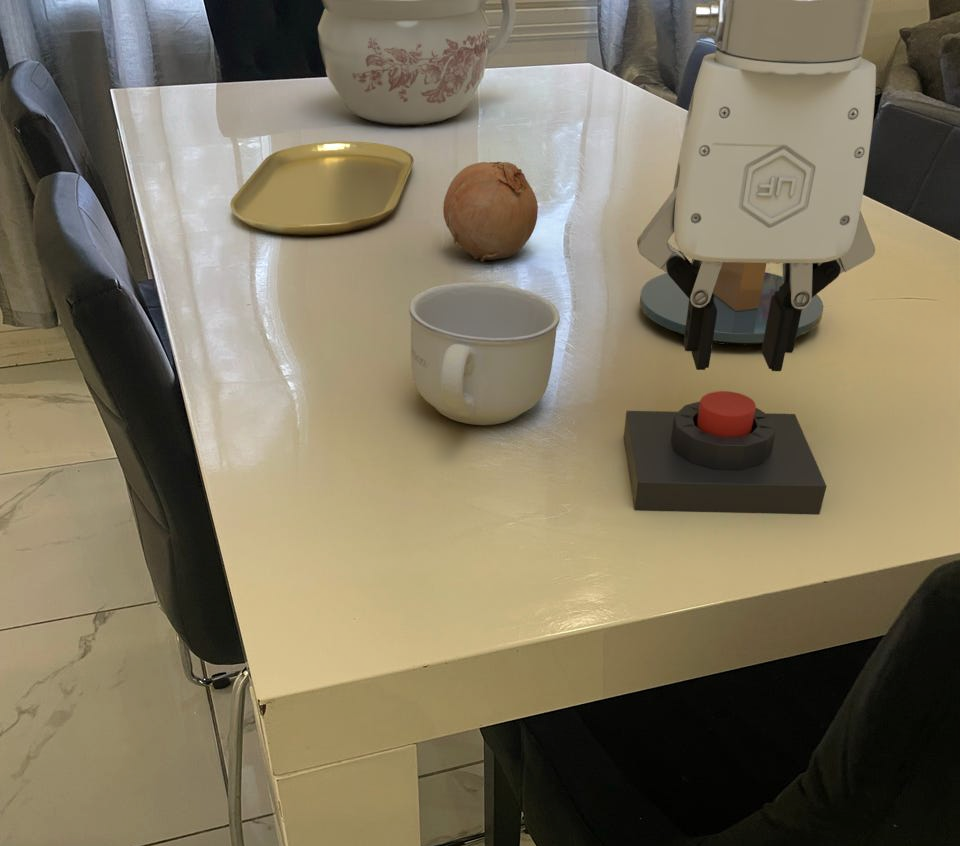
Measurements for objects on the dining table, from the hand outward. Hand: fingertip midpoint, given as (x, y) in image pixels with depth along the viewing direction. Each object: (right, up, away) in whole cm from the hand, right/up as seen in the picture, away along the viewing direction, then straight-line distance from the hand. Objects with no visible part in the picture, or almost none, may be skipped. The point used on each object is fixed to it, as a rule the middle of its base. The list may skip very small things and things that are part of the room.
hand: (735, 359), depth 64 cm
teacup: (-17, -1, +12) cm, 21 cm away
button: (0, -4, +3) cm, 5 cm away
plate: (+6, +12, +26) cm, 29 cm away
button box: (0, -7, +5) cm, 8 cm away
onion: (-15, +22, +40) cm, 48 cm away
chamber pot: (-27, +61, +87) cm, 110 cm away
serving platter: (-34, +35, +57) cm, 75 cm away
